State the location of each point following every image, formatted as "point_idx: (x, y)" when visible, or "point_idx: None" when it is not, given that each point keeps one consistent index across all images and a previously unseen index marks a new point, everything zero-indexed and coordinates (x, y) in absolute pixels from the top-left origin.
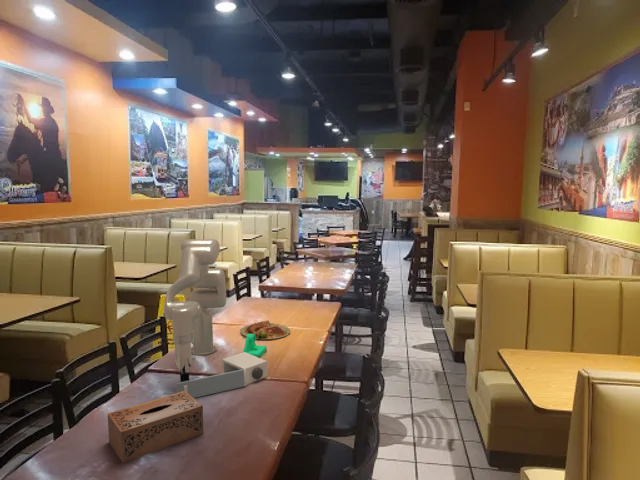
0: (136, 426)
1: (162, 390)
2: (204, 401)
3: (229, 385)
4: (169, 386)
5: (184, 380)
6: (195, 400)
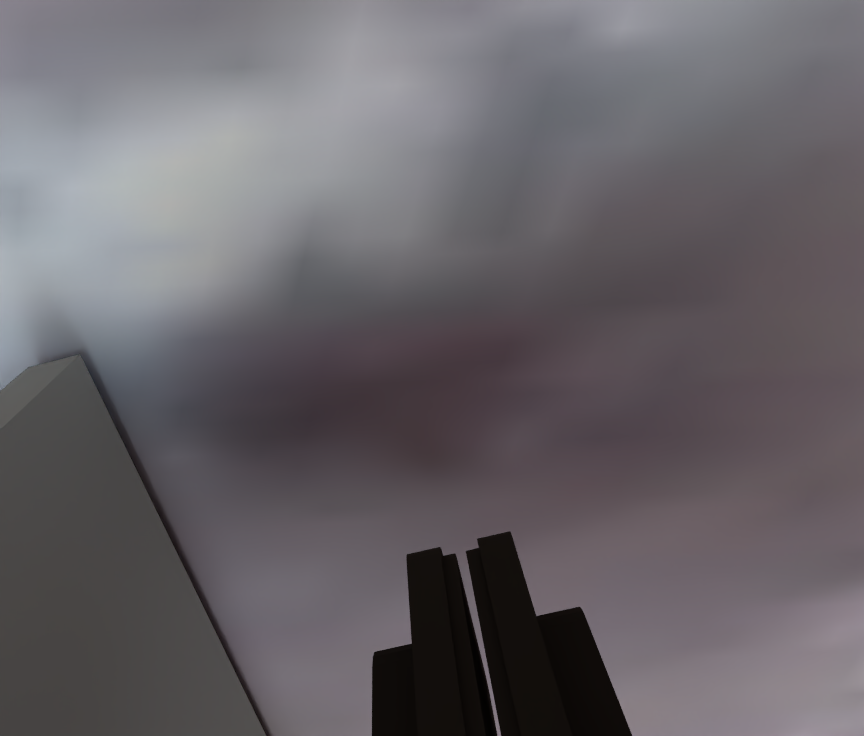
0: None
1: (715, 18)
2: None
3: None
4: (846, 172)
5: (375, 689)
6: None
